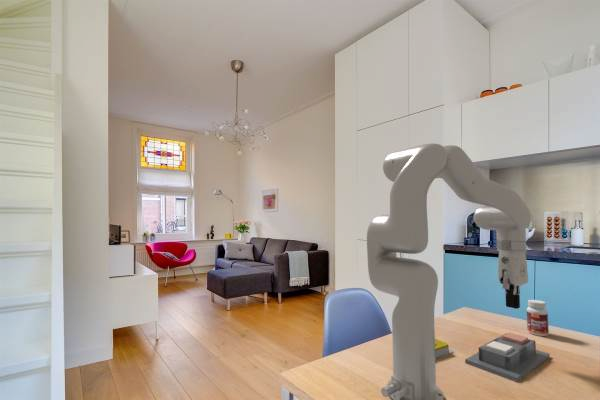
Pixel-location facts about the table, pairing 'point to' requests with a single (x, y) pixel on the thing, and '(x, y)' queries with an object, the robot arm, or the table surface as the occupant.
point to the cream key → (499, 347)
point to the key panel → (509, 359)
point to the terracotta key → (515, 338)
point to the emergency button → (441, 349)
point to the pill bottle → (537, 318)
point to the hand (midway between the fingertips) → (512, 307)
